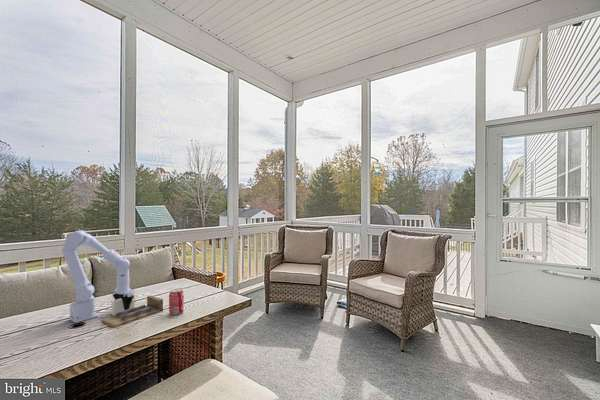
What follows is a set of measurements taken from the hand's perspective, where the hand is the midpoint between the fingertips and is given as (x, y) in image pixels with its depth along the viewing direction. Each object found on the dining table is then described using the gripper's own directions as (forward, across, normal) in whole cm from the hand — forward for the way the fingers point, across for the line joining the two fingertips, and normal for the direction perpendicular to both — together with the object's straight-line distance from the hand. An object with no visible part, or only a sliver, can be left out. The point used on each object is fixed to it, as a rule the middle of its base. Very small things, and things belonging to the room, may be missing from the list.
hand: (123, 307), depth 148 cm
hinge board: (+2, -11, 0) cm, 11 cm away
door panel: (+2, 0, 0) cm, 2 cm away
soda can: (+2, -26, -14) cm, 30 cm away
